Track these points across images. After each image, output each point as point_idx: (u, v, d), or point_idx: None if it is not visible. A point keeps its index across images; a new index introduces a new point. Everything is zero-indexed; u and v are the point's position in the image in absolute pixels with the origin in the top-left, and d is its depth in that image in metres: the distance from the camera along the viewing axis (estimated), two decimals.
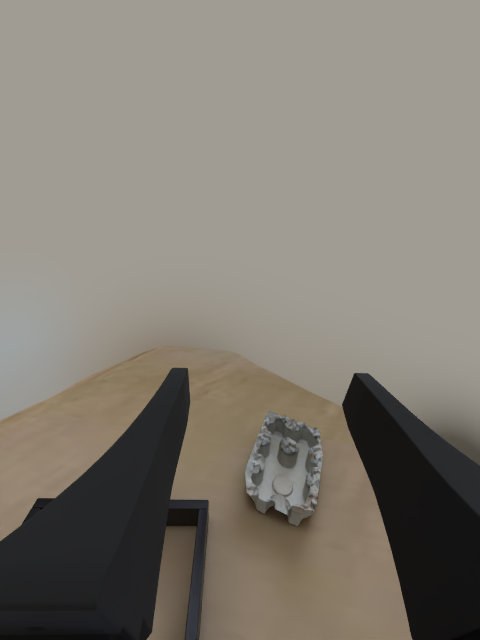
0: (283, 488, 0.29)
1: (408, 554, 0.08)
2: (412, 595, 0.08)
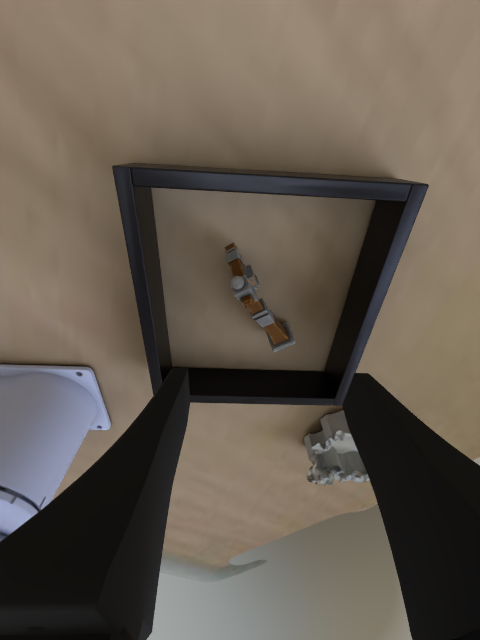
0: None
1: (408, 554, 0.08)
2: (412, 595, 0.08)
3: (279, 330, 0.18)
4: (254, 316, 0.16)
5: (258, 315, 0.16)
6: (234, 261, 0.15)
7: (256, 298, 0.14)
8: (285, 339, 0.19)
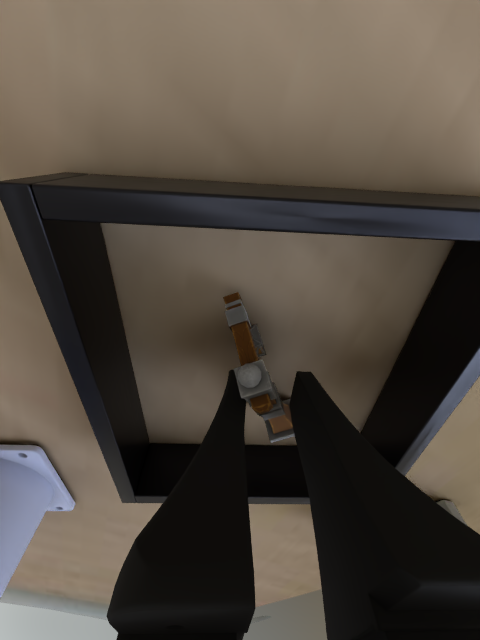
0: None
1: (326, 554, 0.08)
2: (328, 595, 0.08)
3: (286, 419, 0.12)
4: None
5: None
6: (240, 325, 0.09)
7: (274, 396, 0.09)
8: (290, 427, 0.13)
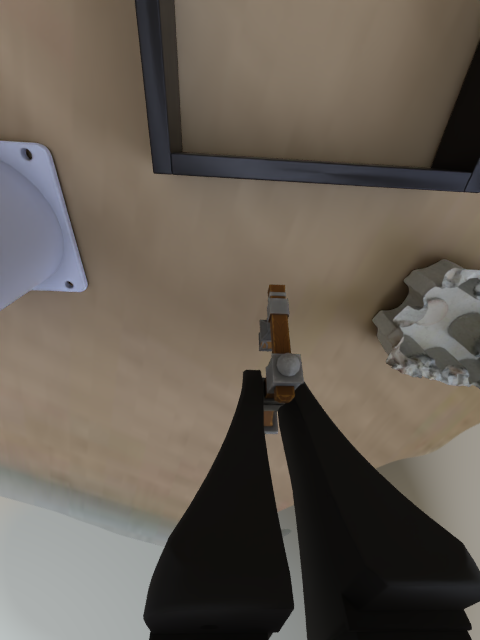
0: (425, 313, 0.19)
1: (307, 554, 0.08)
2: (308, 595, 0.08)
3: (271, 416, 0.13)
4: (264, 401, 0.10)
5: (270, 401, 0.11)
6: (280, 316, 0.10)
7: None
8: (267, 425, 0.14)
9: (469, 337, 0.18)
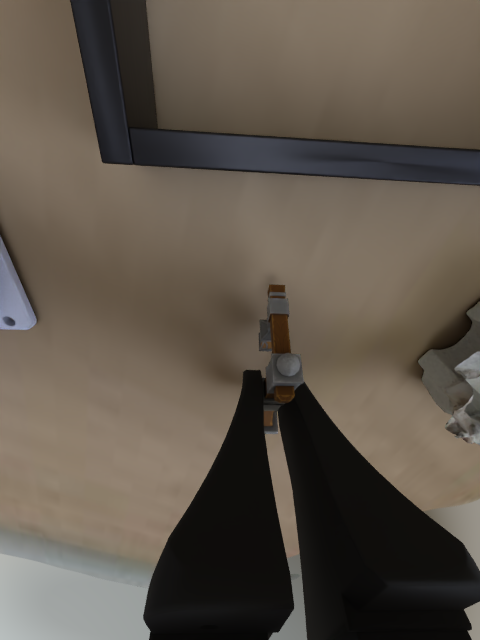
0: None
1: (307, 554, 0.08)
2: (308, 595, 0.08)
3: (271, 416, 0.13)
4: (264, 401, 0.10)
5: (269, 401, 0.11)
6: (280, 316, 0.10)
7: None
8: (267, 425, 0.14)
9: None
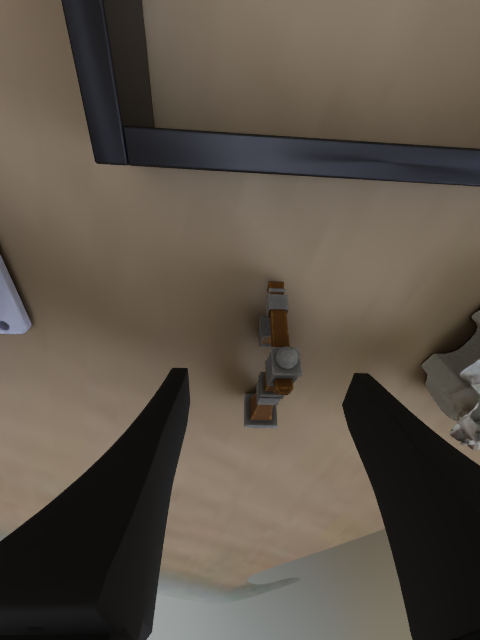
0: None
1: (408, 554, 0.08)
2: (412, 595, 0.08)
3: (271, 410, 0.13)
4: (264, 394, 0.11)
5: None
6: (279, 312, 0.10)
7: None
8: (267, 419, 0.14)
9: None
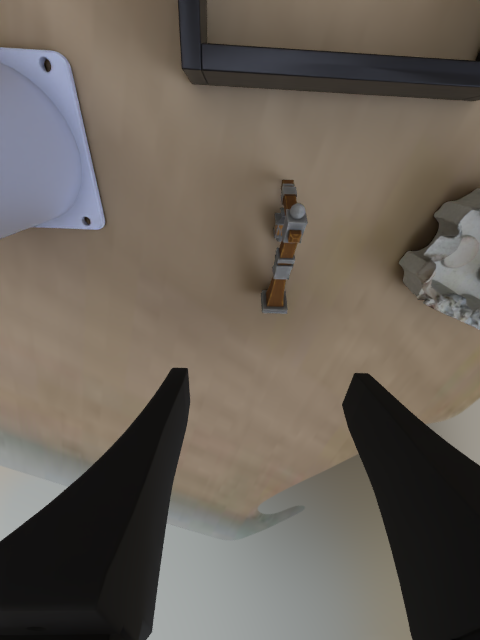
0: (455, 253, 0.18)
1: (408, 554, 0.08)
2: (412, 595, 0.08)
3: (283, 292, 0.17)
4: (280, 260, 0.15)
5: (283, 262, 0.15)
6: (291, 196, 0.14)
7: (300, 240, 0.14)
8: (279, 305, 0.18)
9: None
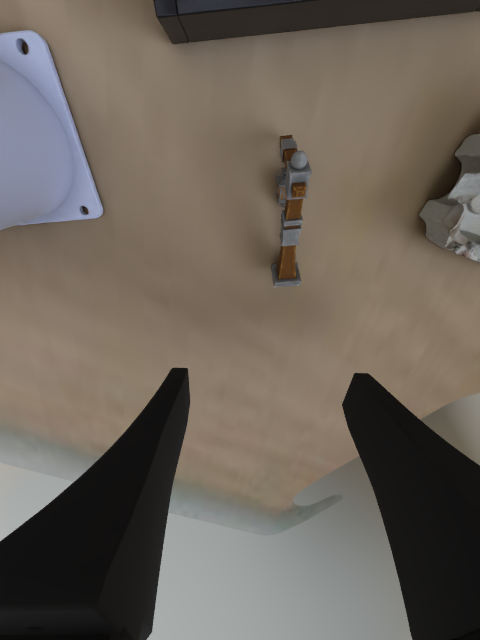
0: None
1: (408, 554, 0.08)
2: (412, 595, 0.08)
3: (294, 261, 0.16)
4: (286, 223, 0.14)
5: (290, 224, 0.14)
6: (291, 150, 0.13)
7: (305, 194, 0.12)
8: (292, 277, 0.17)
9: None
